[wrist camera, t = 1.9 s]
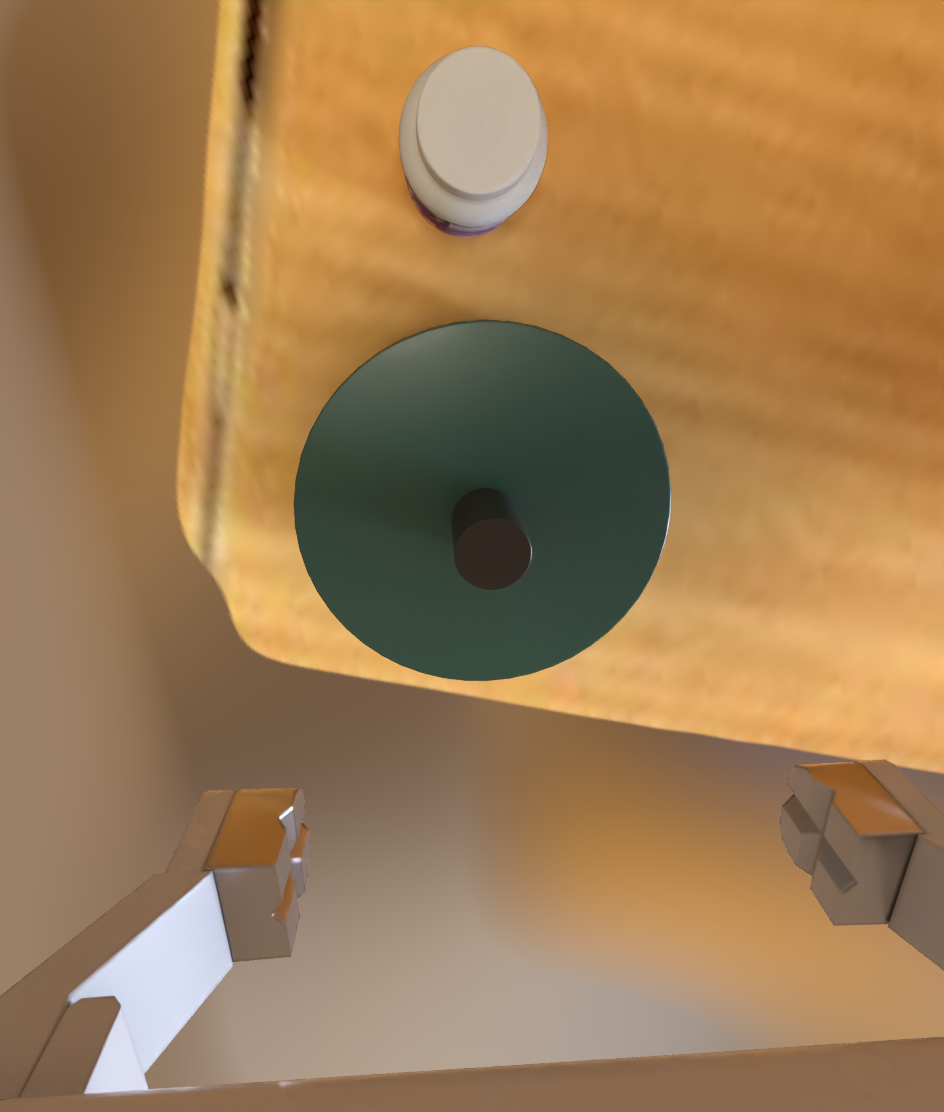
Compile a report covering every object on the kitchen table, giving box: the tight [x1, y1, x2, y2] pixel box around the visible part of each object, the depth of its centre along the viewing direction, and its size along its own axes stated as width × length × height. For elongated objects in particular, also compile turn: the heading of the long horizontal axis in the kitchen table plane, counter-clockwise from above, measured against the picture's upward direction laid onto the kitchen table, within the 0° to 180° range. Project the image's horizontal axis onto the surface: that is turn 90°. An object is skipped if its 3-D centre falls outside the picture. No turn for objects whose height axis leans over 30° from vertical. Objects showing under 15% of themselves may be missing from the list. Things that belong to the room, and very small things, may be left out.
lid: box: [294, 320, 671, 681], centre depth 24 cm, size 14×14×5 cm
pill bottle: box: [399, 46, 548, 237], centre depth 25 cm, size 5×5×10 cm
